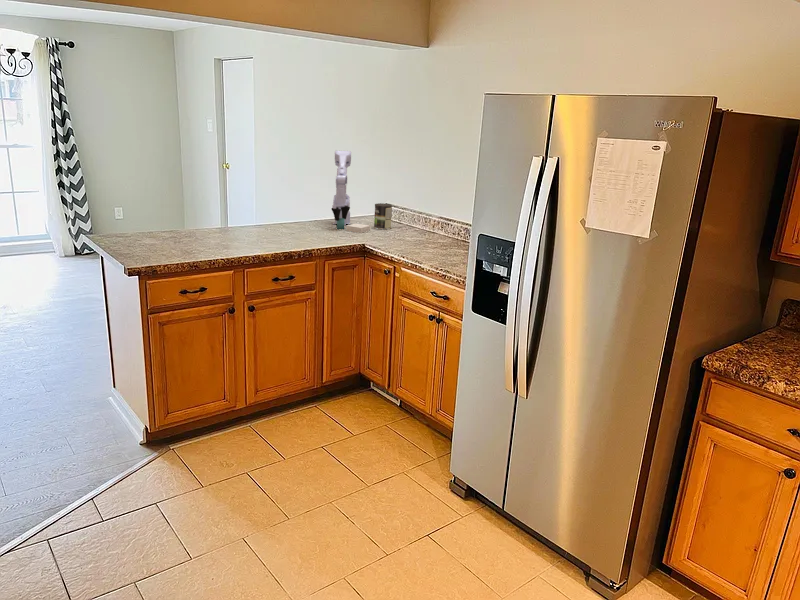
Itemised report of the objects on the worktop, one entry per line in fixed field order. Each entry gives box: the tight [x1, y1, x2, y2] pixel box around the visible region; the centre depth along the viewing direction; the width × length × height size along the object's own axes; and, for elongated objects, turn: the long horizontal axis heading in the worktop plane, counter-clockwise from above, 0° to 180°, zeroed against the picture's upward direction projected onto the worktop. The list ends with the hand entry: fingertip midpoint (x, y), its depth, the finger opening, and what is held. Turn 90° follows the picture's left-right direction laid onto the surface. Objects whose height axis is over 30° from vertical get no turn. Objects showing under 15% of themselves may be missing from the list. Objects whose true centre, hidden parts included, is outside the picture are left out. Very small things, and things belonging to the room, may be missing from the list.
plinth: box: [345, 223, 371, 234], centre depth 352 cm, size 10×10×3 cm
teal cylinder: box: [336, 218, 345, 230], centre depth 355 cm, size 4×4×6 cm
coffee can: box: [373, 202, 393, 230], centre depth 363 cm, size 10×10×14 cm
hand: (340, 219), depth 354 cm, fingers open, 7 cm apart
